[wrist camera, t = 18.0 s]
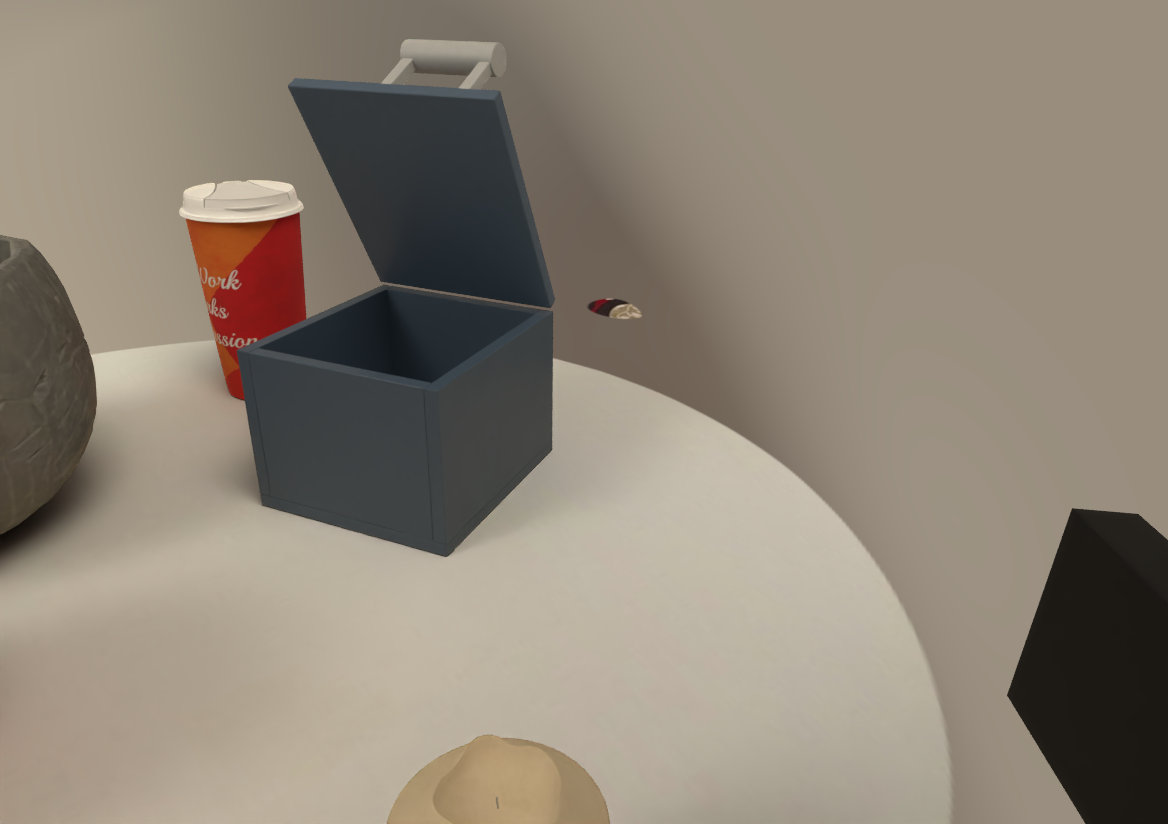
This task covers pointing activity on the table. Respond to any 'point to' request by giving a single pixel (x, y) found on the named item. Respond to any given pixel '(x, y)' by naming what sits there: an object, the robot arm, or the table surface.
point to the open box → (401, 412)
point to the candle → (501, 787)
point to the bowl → (39, 383)
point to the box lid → (432, 174)
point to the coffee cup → (246, 262)
